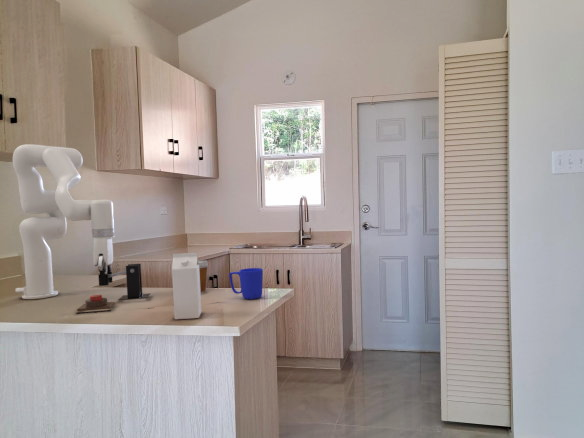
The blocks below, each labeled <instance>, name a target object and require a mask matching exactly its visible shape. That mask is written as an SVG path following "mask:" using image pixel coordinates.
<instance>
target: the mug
mask: <svg viewBox="0 0 584 438" xmlns="http://www.w3.org/2000/svg"><path fill="white" fill-rule="evenodd" d="M228 275H229V282H230V287H231V290H232V292H233V293H234V294H237V295H238V294H241V295H242V298H243V299H244V300H257V299H260V298H262V297H263V282H264V281H263V280H264V279H263V276H264V269H263V268H262V267H261V268H260V267H250V268H242V269H239V271H231V272H229V274H228ZM233 275H238V277H239V284H240V291H237V290H236V288H235V286H234V282H233Z"/></svg>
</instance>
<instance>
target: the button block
mask: <svg viewBox="0 0 584 438" xmlns="http://www.w3.org/2000/svg"><path fill="white" fill-rule="evenodd" d="M84 302H85V303H83V304H82V305H81V306H79V307H78V308H77V310H76V313H77V315H82V314H84V315H85V314H95V313H96V314H97V313H108V312H111V311H112V309H111V308H112V307H113V306H114V305H116V302H115V301H108V298H107V297H102V300H99V301H90V298H89V299H86V300H85V301H84Z"/></svg>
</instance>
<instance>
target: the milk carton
mask: <svg viewBox="0 0 584 438" xmlns="http://www.w3.org/2000/svg"><path fill="white" fill-rule="evenodd" d="M198 260H199V257H198V252H187V253H173V254H172V264H171V279H172V297H173V298H172V299H173V316H174V320H188V319H199V318H200V317H201V314H202V293H201V292H202V291H200V272H199V262H198Z"/></svg>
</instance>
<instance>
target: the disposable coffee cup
mask: <svg viewBox="0 0 584 438" xmlns="http://www.w3.org/2000/svg"><path fill="white" fill-rule="evenodd" d="M198 262H199V272H200V291H201V292H205V291H206V290H207V289H206V288H207V274H208V268H209V267H208V266H209V263H208V261H207V260H204V259H202V260H200V259H198Z"/></svg>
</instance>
